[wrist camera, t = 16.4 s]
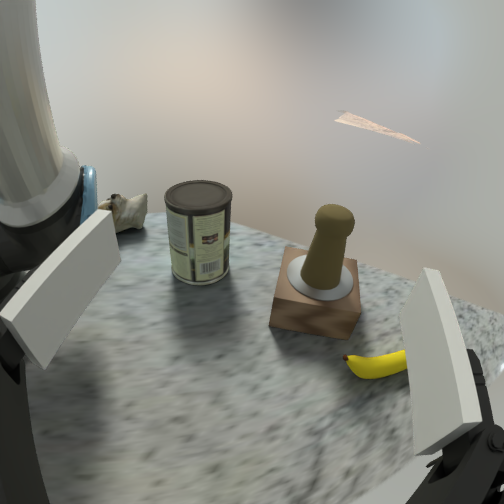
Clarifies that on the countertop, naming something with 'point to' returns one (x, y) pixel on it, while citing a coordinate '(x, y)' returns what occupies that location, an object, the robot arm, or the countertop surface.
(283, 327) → the walnut plinth
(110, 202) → the ceramic sculpture
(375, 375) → the banana
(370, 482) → the countertop surface
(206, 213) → the coffee can
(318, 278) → the cork
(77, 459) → the countertop surface
